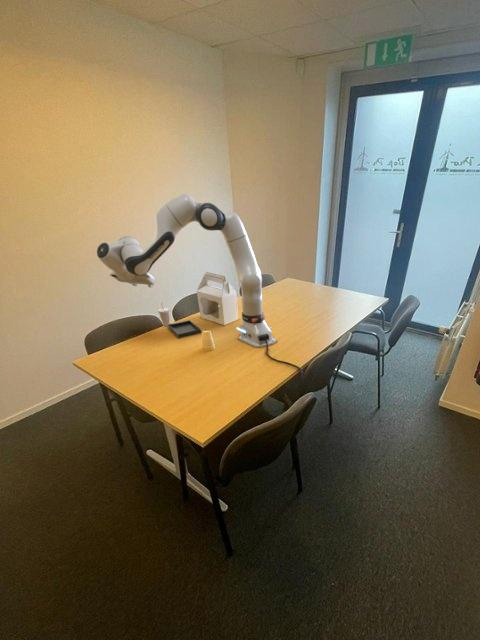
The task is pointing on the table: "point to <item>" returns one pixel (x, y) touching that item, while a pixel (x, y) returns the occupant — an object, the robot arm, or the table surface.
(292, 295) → the table surface
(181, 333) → the tray
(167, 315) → the smoothie
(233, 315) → the gable box
